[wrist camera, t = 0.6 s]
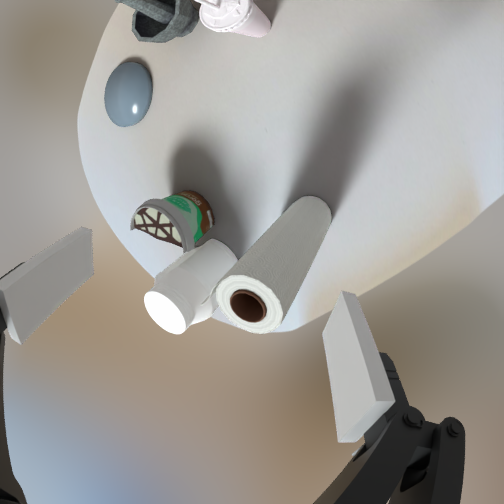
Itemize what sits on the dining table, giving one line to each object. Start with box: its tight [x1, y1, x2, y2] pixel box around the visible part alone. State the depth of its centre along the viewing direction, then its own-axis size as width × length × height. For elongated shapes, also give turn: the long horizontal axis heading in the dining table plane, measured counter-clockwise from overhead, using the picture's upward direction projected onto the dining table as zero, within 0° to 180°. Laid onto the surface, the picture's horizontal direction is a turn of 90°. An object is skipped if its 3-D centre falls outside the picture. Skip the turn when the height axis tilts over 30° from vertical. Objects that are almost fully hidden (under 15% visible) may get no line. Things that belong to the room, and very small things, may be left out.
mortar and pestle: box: [115, 0, 198, 43], centre depth 26 cm, size 11×9×12 cm
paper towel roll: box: [201, 196, 332, 334], centre depth 30 cm, size 7×6×21 cm
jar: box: [144, 239, 238, 334], centre depth 46 cm, size 12×10×15 cm
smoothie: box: [194, 0, 271, 37], centre depth 22 cm, size 6×6×14 cm
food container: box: [130, 191, 214, 253], centre depth 43 cm, size 12×6×10 cm, turn 82°
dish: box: [104, 62, 152, 127], centre depth 41 cm, size 13×13×1 cm
